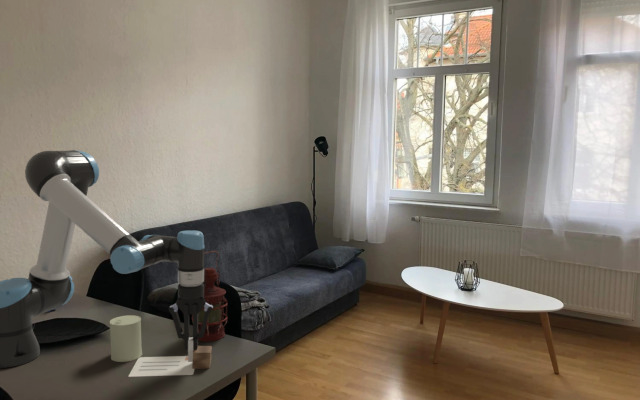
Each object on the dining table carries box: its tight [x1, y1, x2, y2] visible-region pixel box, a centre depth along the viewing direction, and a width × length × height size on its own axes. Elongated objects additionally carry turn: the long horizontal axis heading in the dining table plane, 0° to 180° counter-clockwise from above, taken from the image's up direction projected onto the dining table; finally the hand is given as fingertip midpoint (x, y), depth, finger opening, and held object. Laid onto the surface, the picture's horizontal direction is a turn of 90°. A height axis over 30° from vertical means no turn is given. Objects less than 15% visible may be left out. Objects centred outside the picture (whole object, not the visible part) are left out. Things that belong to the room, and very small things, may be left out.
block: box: [192, 345, 213, 370], centre depth 150 cm, size 5×5×5 cm
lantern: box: [191, 250, 229, 343], centre depth 172 cm, size 12×12×30 cm
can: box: [109, 314, 143, 363], centre depth 155 cm, size 9×9×12 cm
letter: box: [128, 355, 196, 378], centre depth 149 cm, size 18×13×1 cm
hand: (191, 359), depth 150 cm, fingers closed
